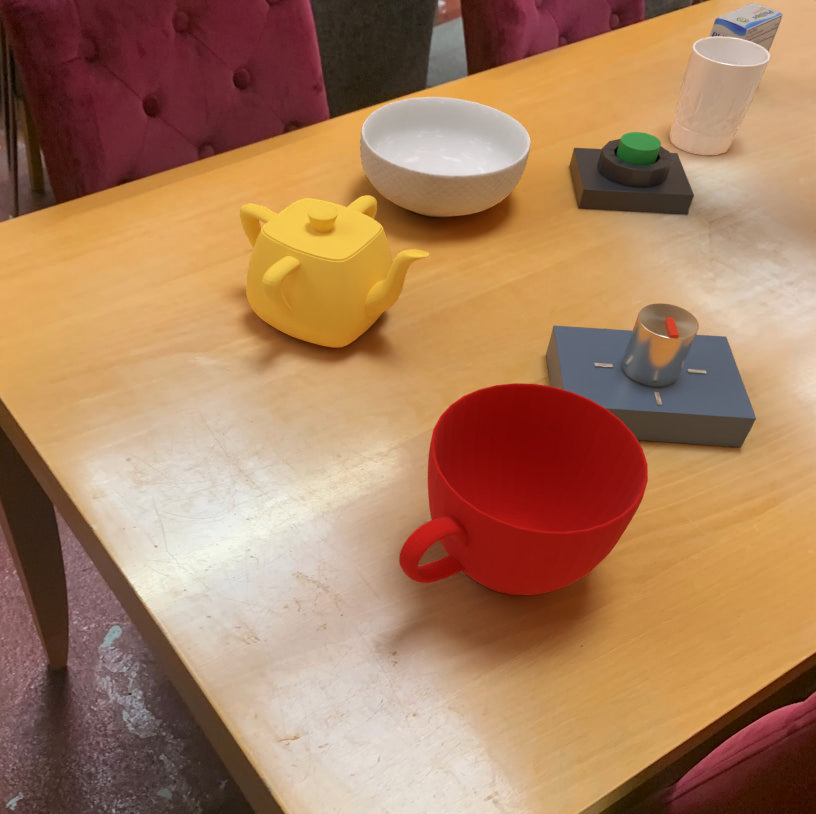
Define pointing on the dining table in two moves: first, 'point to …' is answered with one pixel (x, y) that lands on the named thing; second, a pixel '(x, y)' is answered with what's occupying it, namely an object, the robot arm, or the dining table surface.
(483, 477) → the ceramic cup
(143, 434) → the dining table surface
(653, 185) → the button block
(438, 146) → the cereal bowl
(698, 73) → the white cup
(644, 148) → the button
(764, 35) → the medicine box
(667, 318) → the program dial
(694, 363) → the panel
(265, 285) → the teapot
